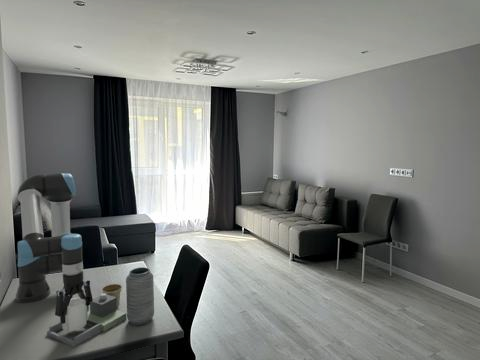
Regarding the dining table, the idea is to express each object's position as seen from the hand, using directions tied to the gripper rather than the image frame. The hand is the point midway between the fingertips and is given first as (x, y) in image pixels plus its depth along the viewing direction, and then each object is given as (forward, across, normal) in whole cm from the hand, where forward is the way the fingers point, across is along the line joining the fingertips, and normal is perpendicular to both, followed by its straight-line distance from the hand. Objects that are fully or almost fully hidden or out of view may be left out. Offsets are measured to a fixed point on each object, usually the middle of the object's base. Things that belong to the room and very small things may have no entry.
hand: (75, 324), depth 135 cm
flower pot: (+3, +24, +6) cm, 25 cm away
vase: (+3, +20, -17) cm, 26 cm away
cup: (0, +1, +2) cm, 2 cm away
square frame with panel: (+3, +5, 0) cm, 6 cm away
